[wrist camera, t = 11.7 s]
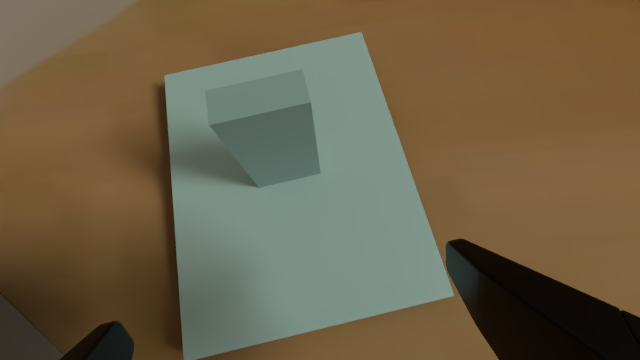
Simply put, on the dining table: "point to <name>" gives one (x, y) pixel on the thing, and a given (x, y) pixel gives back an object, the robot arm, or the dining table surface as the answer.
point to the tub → (22, 337)
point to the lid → (292, 198)
